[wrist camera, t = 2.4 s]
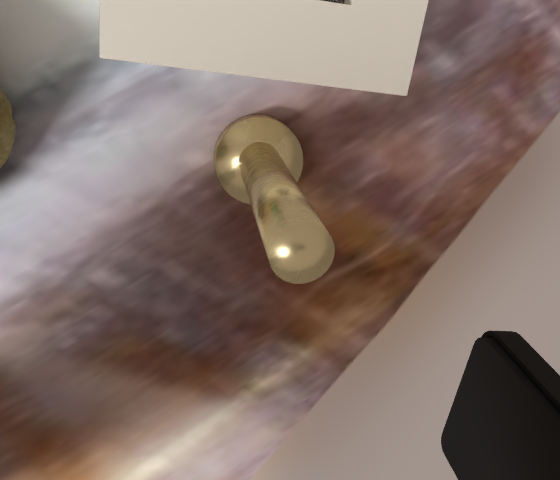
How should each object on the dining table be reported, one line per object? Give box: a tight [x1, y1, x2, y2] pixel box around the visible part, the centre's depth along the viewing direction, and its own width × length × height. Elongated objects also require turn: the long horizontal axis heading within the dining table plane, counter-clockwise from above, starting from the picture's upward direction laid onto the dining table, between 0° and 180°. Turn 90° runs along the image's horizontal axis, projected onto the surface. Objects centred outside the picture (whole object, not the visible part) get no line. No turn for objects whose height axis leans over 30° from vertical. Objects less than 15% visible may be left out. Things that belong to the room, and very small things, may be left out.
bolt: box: [214, 114, 335, 284], centre depth 24 cm, size 5×5×13 cm
